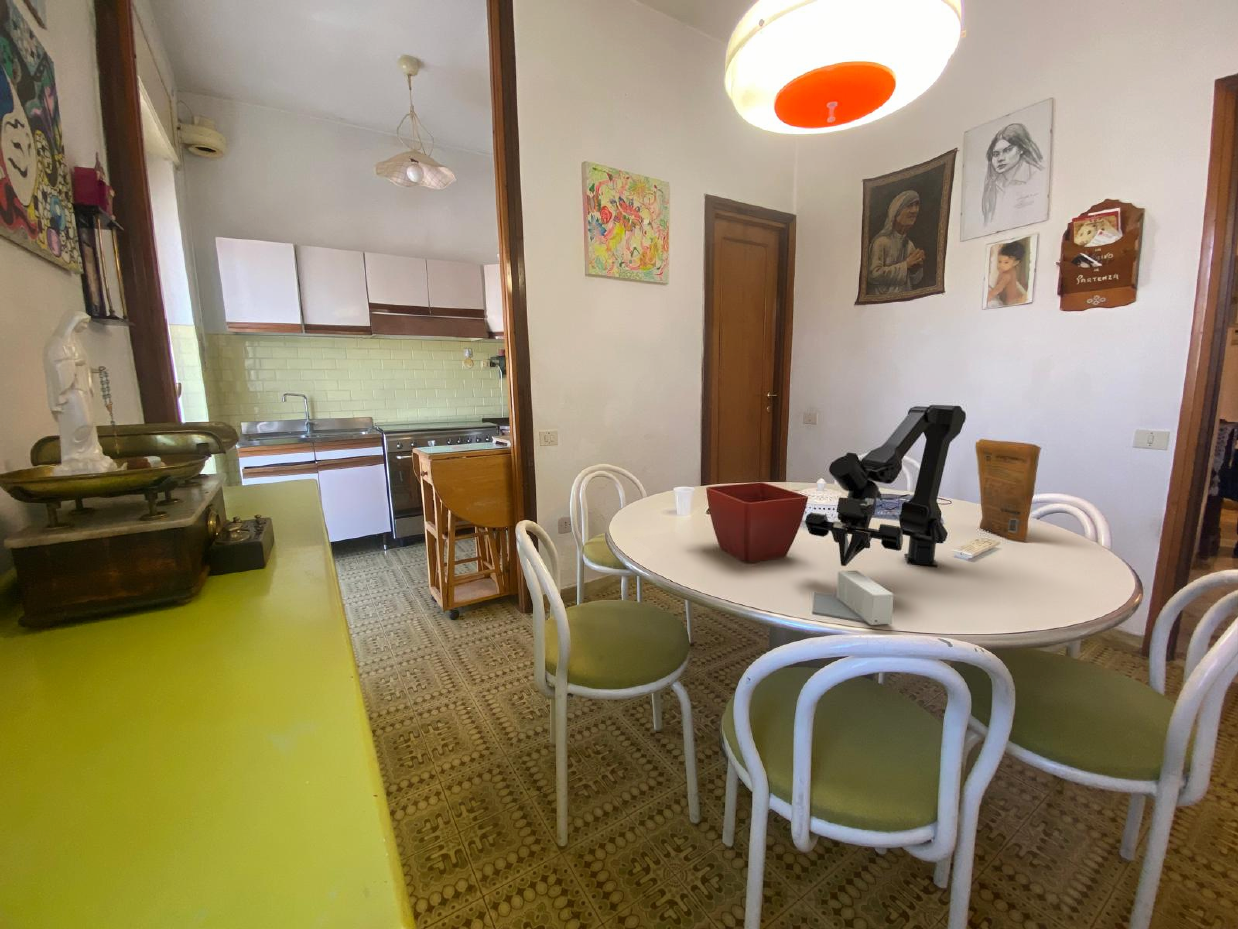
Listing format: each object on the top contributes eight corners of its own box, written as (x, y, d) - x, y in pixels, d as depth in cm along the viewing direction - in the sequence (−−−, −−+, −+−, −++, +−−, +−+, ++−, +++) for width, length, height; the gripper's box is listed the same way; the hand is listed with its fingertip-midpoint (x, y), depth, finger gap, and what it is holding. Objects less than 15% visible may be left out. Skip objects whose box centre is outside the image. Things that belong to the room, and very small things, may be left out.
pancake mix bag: (1016, 545, 136) (1030, 445, 131) (963, 525, 155) (973, 437, 150) (1039, 544, 136) (1053, 444, 132) (983, 524, 155) (994, 437, 150)
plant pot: (806, 560, 125) (810, 495, 122) (744, 570, 118) (747, 502, 115) (759, 538, 143) (762, 481, 140) (702, 546, 136) (704, 487, 133)
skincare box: (855, 596, 103) (892, 624, 91) (835, 597, 102) (870, 626, 90) (857, 569, 101) (894, 594, 90) (837, 570, 101) (872, 595, 89)
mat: (814, 593, 105) (814, 591, 105) (871, 602, 101) (871, 600, 101) (812, 613, 96) (812, 611, 96) (875, 624, 92) (875, 622, 92)
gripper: (810, 477, 109) (790, 537, 102) (906, 488, 98) (890, 556, 91) (818, 504, 116) (800, 562, 110) (908, 518, 105) (894, 583, 98)
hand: (842, 565), depth 102 cm, fingers closed
